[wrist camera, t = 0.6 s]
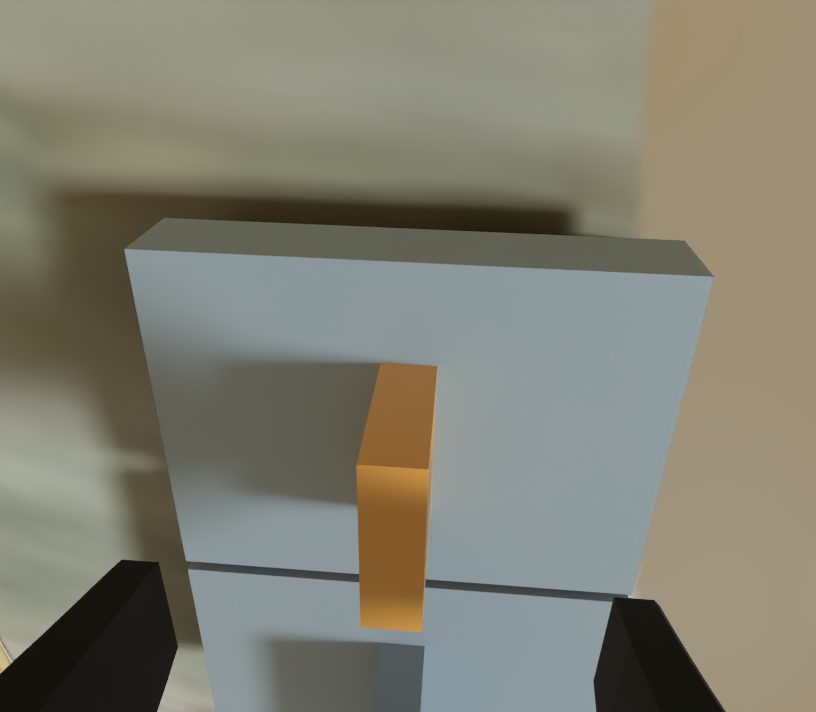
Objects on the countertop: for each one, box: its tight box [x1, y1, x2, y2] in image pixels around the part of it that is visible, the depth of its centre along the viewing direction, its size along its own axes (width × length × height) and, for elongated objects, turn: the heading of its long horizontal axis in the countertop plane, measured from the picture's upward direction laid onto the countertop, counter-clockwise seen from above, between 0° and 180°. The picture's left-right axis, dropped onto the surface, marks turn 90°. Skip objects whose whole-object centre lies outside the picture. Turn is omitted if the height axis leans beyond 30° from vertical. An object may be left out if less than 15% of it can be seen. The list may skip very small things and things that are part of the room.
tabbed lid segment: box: [124, 218, 714, 632], centre depth 14 cm, size 9×11×5 cm
